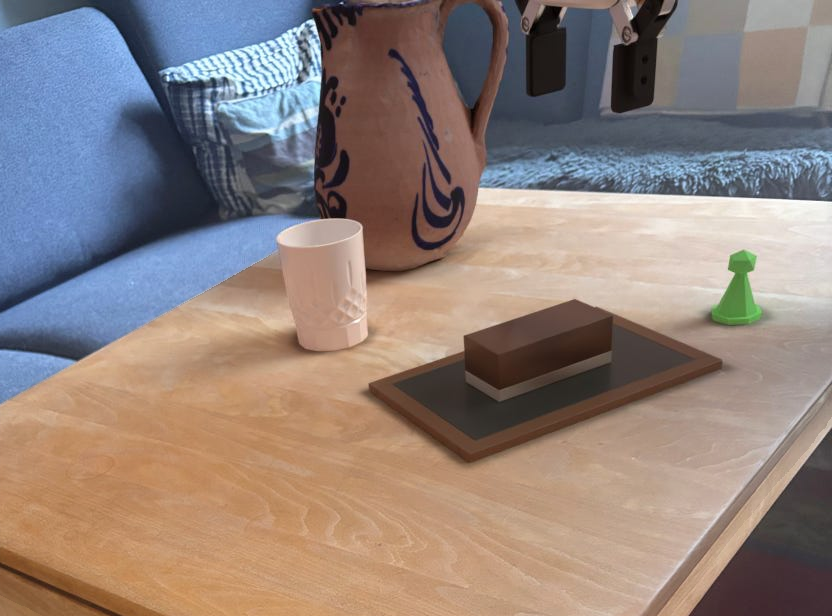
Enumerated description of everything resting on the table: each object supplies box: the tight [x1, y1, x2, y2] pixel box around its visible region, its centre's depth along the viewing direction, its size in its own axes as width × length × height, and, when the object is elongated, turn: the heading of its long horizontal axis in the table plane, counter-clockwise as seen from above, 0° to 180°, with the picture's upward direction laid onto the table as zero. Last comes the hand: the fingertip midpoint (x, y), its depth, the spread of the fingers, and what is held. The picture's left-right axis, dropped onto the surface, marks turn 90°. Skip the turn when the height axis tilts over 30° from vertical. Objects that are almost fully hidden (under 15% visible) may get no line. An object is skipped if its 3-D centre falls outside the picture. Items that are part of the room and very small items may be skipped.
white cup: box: [275, 219, 369, 352], centre depth 90 cm, size 8×8×10 cm
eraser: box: [463, 298, 613, 402], centre depth 79 cm, size 11×5×4 cm, turn 117°
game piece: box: [710, 249, 763, 326], centre depth 84 cm, size 4×4×6 cm
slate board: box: [368, 306, 723, 464], centre depth 80 cm, size 24×16×1 cm, turn 117°
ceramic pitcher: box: [311, 0, 510, 272], centre depth 102 cm, size 18×21×25 cm
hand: (586, 100), depth 69 cm, fingers open, 9 cm apart
